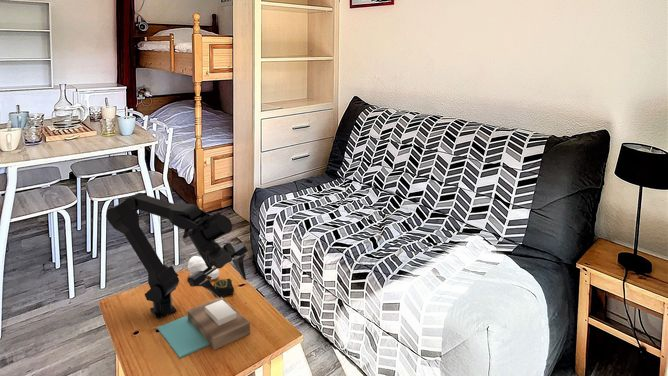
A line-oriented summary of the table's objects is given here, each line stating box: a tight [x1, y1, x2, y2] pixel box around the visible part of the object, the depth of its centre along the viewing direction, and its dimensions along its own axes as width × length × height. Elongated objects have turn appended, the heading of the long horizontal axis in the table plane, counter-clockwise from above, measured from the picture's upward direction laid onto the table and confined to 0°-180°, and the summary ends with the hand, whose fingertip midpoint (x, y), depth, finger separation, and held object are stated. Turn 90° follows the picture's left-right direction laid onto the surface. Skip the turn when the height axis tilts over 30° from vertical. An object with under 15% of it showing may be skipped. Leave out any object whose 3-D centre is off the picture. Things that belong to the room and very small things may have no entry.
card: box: [205, 300, 237, 325], centre depth 137 cm, size 9×6×2 cm, turn 42°
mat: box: [156, 315, 210, 359], centre depth 133 cm, size 17×10×1 cm, turn 42°
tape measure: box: [212, 278, 235, 297], centre depth 156 cm, size 7×7×4 cm
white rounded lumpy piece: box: [186, 255, 220, 281], centre depth 164 cm, size 6×8×12 cm
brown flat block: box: [186, 296, 251, 351], centre depth 137 cm, size 18×12×4 cm, turn 42°
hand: (232, 288), depth 132 cm, fingers open, 9 cm apart
